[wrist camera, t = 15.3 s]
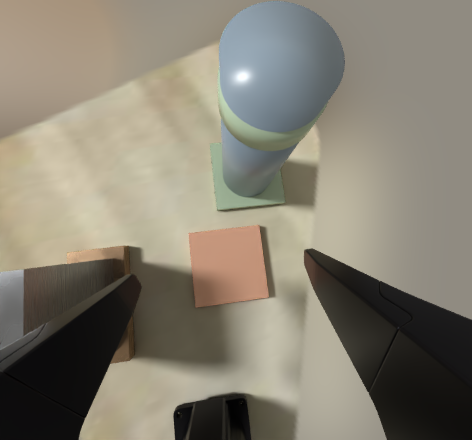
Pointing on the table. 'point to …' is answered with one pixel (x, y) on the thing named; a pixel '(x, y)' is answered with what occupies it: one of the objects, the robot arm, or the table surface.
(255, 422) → the table surface
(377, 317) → the robot arm
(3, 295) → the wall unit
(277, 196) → the sage pad
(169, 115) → the table surface
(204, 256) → the terracotta pad
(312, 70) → the cartridge
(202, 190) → the table surface
